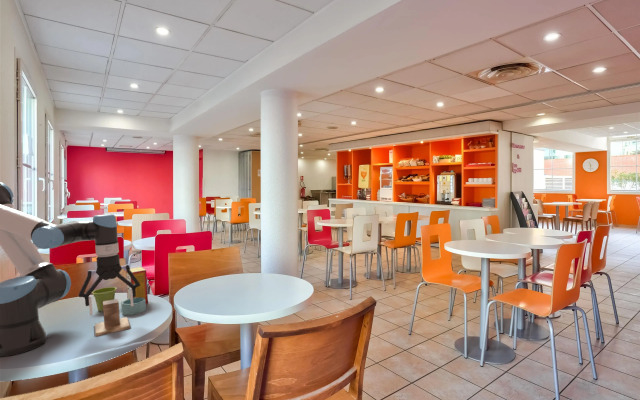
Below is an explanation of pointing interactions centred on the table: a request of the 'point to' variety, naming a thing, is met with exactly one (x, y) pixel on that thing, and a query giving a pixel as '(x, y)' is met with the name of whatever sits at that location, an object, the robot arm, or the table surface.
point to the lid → (111, 319)
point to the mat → (111, 332)
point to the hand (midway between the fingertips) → (112, 309)
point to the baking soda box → (142, 279)
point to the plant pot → (104, 296)
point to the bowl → (137, 307)
